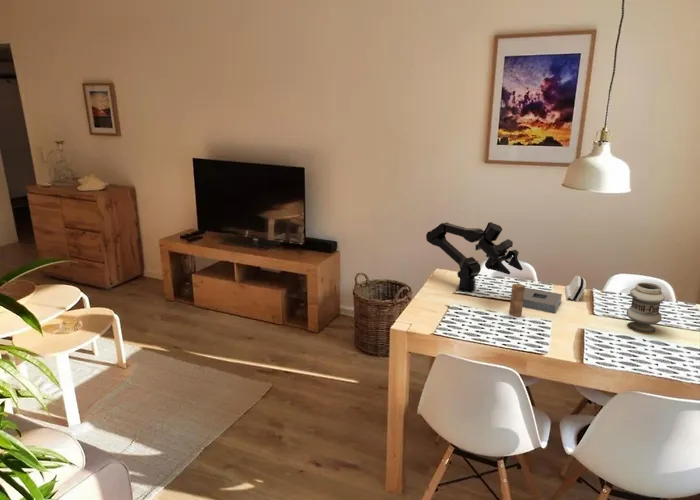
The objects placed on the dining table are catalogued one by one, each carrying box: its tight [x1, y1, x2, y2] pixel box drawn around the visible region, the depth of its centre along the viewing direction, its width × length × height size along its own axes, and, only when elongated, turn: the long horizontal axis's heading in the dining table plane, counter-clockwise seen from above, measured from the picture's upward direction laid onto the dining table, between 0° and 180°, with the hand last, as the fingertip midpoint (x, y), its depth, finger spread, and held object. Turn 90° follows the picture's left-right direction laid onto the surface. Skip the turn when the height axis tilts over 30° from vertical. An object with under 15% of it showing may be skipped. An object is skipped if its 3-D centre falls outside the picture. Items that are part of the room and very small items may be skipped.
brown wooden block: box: [508, 283, 526, 318], centre depth 211 cm, size 4×4×13 cm
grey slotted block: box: [522, 286, 563, 314], centre depth 225 cm, size 16×16×4 cm
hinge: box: [564, 275, 587, 303], centre depth 235 cm, size 17×5×10 cm, turn 160°
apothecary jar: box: [626, 281, 666, 334], centre depth 199 cm, size 12×12×18 cm
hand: (516, 271), depth 218 cm, fingers open, 9 cm apart
